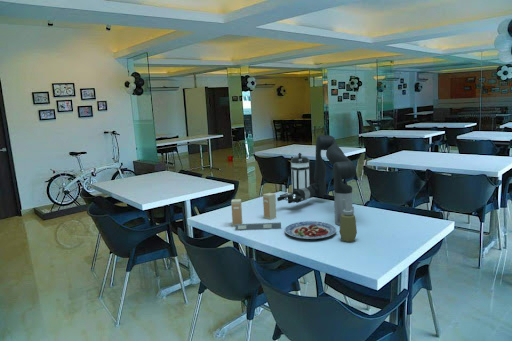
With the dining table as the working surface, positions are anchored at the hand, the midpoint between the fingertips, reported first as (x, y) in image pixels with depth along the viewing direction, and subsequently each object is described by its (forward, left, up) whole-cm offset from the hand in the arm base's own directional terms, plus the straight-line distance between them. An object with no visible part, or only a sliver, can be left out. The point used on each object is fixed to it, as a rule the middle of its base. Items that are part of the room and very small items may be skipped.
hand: (282, 200), depth 233 cm
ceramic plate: (-36, +10, -8) cm, 38 cm away
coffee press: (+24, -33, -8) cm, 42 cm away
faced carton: (-1, +32, -8) cm, 33 cm away
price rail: (-14, +27, -8) cm, 31 cm away
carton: (-2, +11, -8) cm, 14 cm away
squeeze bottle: (-55, +3, -8) cm, 56 cm away
